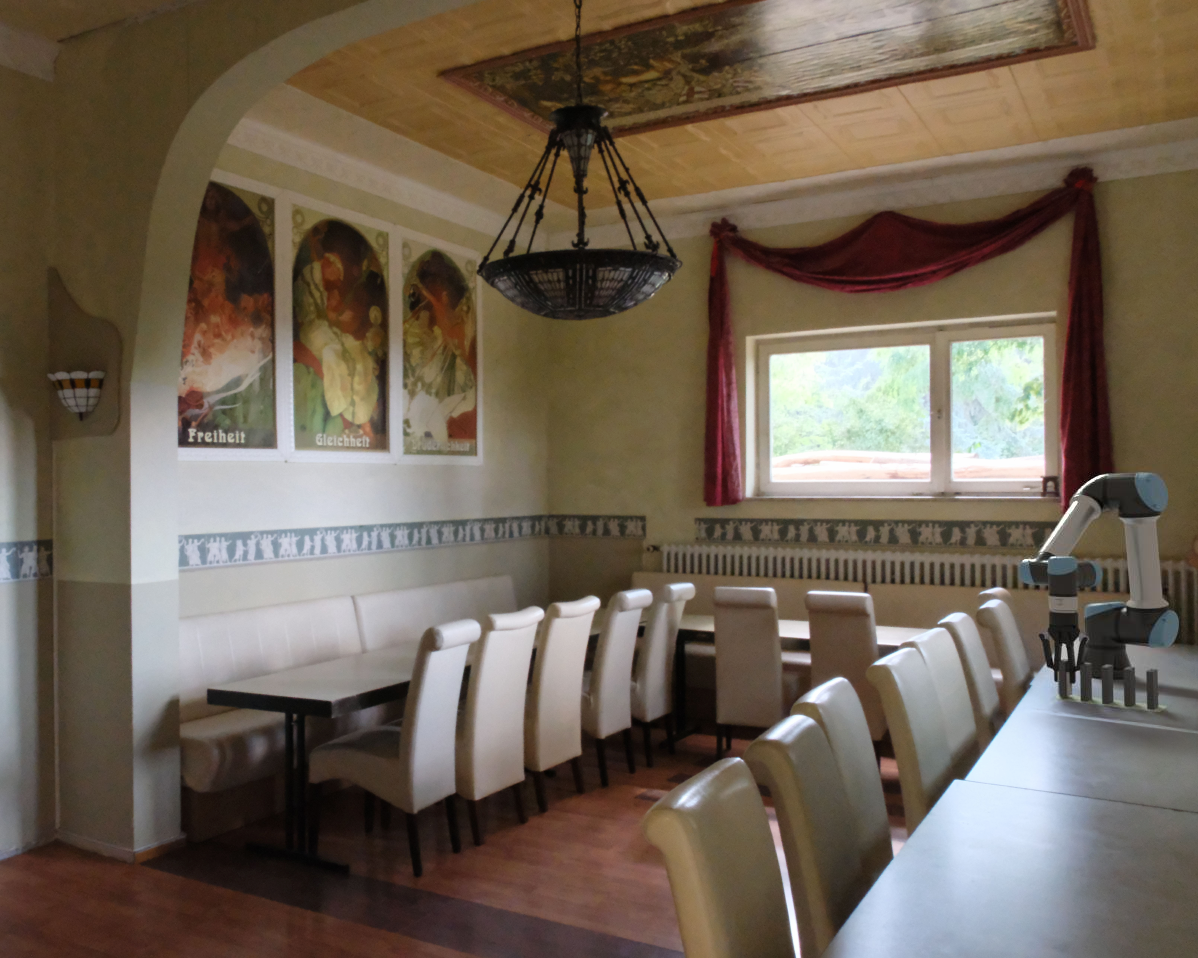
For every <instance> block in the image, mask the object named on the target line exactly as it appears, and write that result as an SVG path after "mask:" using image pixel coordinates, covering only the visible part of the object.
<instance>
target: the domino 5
mask: <svg viewBox="0 0 1198 958" xmlns="http://www.w3.org/2000/svg"><path fill="white" fill-rule="evenodd" d="M1158 671H1159V670H1158V668H1157V669H1156V668H1150V669H1147V670H1146V671H1145V672H1146V704H1147V709H1151V710H1154V709H1156V708H1157V707H1158V705H1159V681H1158V679H1159V677H1158Z"/></svg>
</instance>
